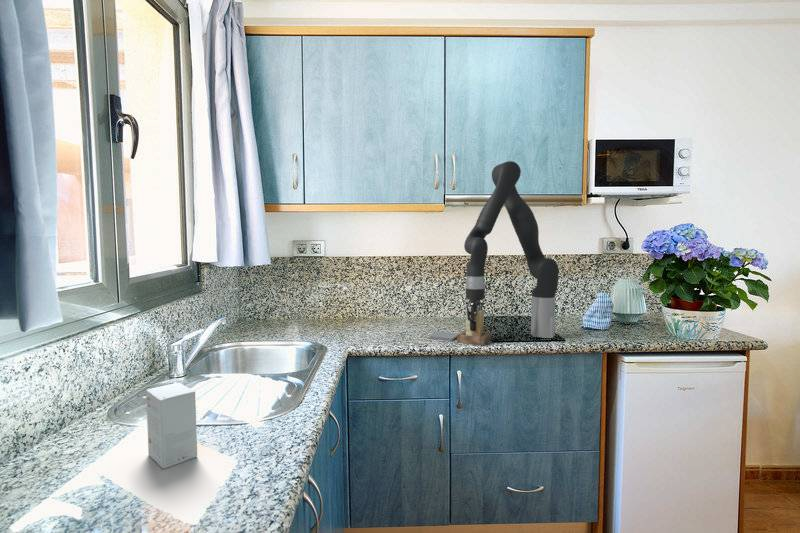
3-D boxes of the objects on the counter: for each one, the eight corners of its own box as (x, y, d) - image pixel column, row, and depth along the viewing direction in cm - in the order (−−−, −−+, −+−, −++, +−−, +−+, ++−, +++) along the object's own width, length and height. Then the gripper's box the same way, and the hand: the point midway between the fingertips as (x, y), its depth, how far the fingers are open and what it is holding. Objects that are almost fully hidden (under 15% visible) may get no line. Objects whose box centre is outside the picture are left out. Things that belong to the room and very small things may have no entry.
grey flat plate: (460, 335, 184) (460, 333, 184) (452, 341, 175) (452, 338, 175) (438, 333, 189) (438, 331, 189) (429, 338, 180) (429, 335, 180)
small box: (198, 457, 84) (196, 391, 83) (162, 470, 79) (159, 400, 78) (181, 443, 89) (179, 381, 88) (147, 454, 85) (144, 389, 84)
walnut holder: (491, 339, 177) (491, 332, 177) (483, 345, 168) (483, 338, 167) (465, 336, 182) (466, 329, 182) (456, 342, 173) (457, 335, 172)
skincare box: (465, 340, 175) (465, 310, 174) (468, 337, 178) (469, 308, 177) (480, 342, 172) (481, 311, 171) (484, 339, 175) (484, 309, 174)
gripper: (478, 289, 165) (478, 334, 167) (489, 285, 178) (489, 327, 179) (460, 288, 169) (459, 332, 170) (471, 284, 181) (471, 325, 183)
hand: (474, 329), depth 175 cm, fingers closed on skincare box, 4 cm apart
